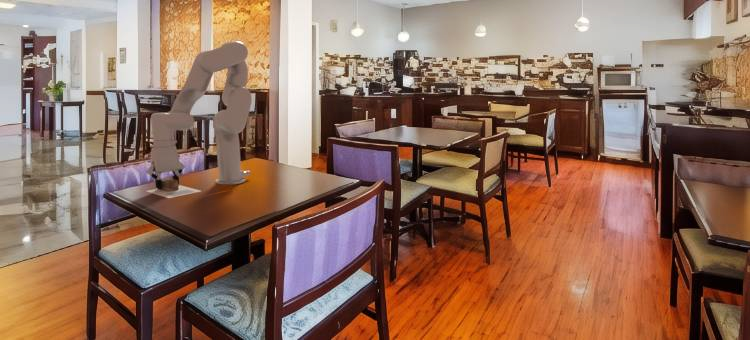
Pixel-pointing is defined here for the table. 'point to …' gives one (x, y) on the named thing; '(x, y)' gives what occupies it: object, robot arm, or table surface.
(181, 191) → the mat
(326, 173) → the table surface
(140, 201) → the table surface
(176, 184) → the brown block
